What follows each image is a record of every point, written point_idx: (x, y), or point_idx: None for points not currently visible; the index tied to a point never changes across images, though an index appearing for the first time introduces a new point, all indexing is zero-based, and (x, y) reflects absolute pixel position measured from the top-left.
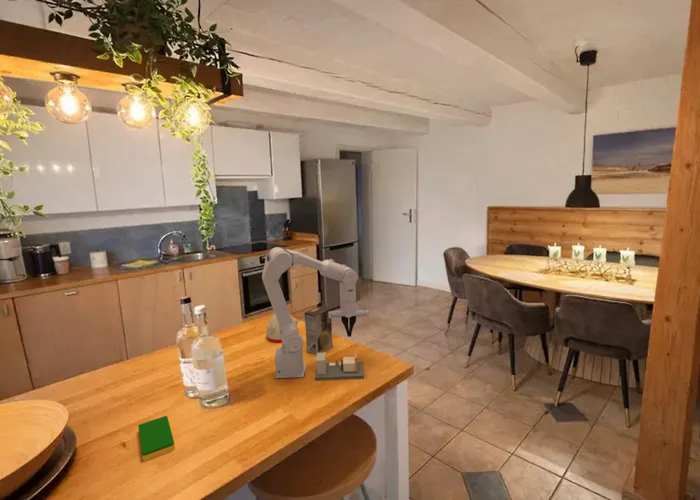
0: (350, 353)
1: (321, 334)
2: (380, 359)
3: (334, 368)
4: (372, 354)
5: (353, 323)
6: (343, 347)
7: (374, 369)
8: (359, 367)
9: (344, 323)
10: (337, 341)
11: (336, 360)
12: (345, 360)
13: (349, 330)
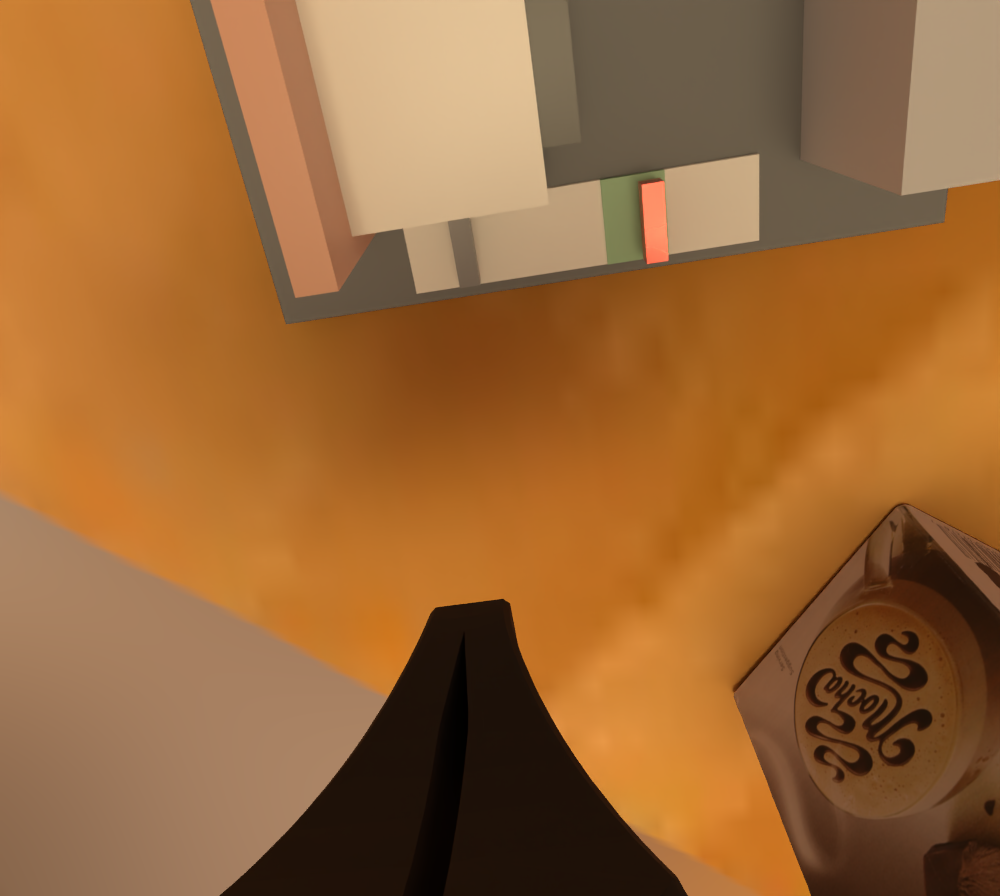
0: (505, 562)
1: (987, 743)
2: (105, 449)
3: (670, 73)
4: (237, 557)
5: (278, 868)
6: (606, 680)
7: (97, 176)
8: None
9: (587, 845)
10: (686, 787)
11: (660, 259)
12: (486, 57)
13: (460, 715)
